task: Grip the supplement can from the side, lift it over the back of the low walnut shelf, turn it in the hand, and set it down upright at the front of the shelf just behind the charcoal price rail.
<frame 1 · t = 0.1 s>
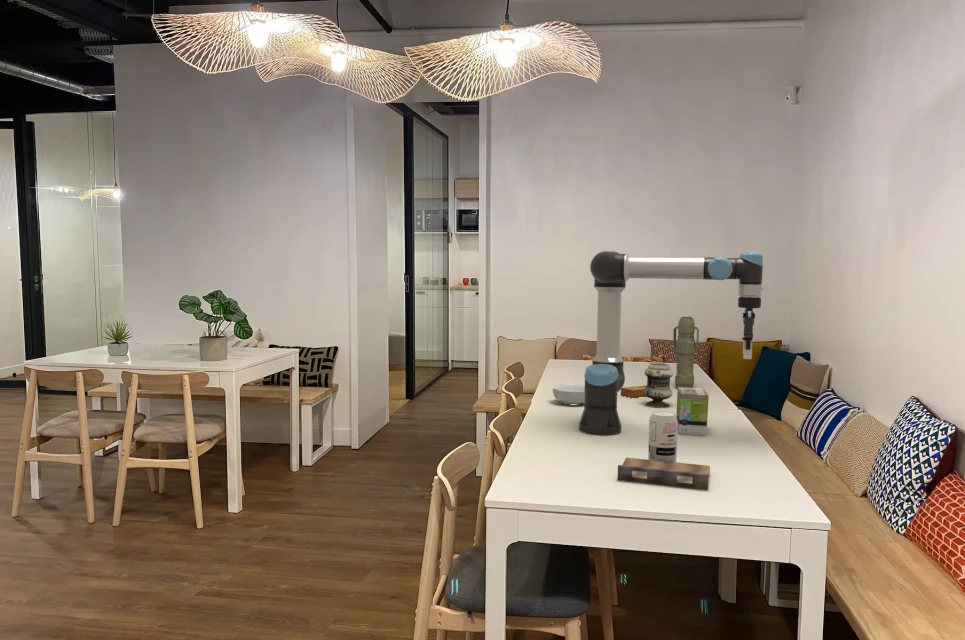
hand: (747, 356, 250), 28 cm above the table, tool pointing down, fingers open, 13 cm apart
tea box: (691, 430, 258), on the table
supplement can: (662, 462, 215), on the table
apothecary jar: (657, 405, 302), on the table
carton: (639, 396, 325), on the table
shelf: (664, 476, 201), on the table
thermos: (684, 389, 344), on the table
cereal bowl: (572, 404, 305), on the table
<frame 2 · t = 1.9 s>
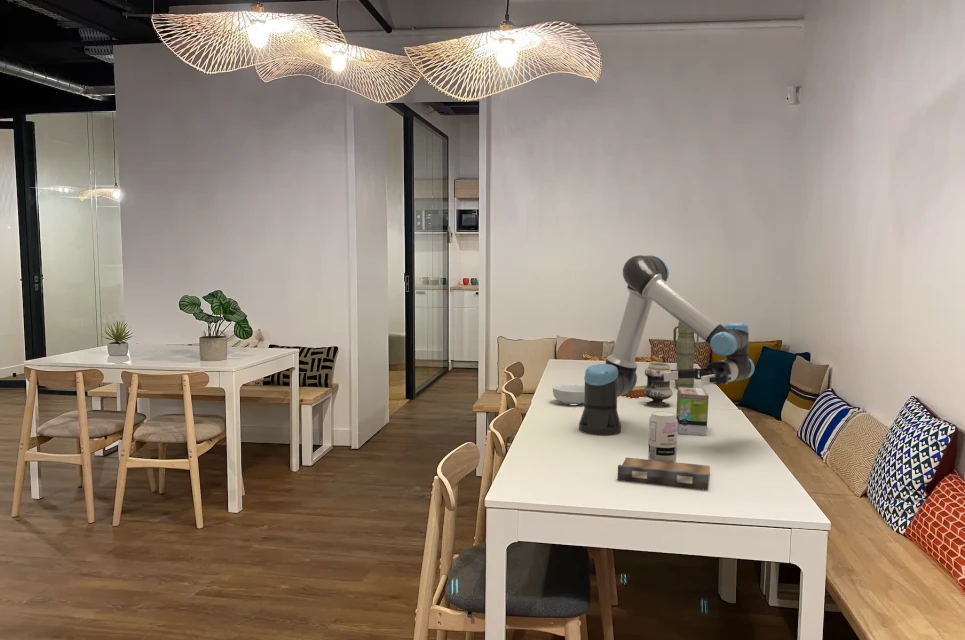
hand: (683, 379, 220), 24 cm above the table, tool horizontal, fingers open, 13 cm apart
nothing on the table moved.
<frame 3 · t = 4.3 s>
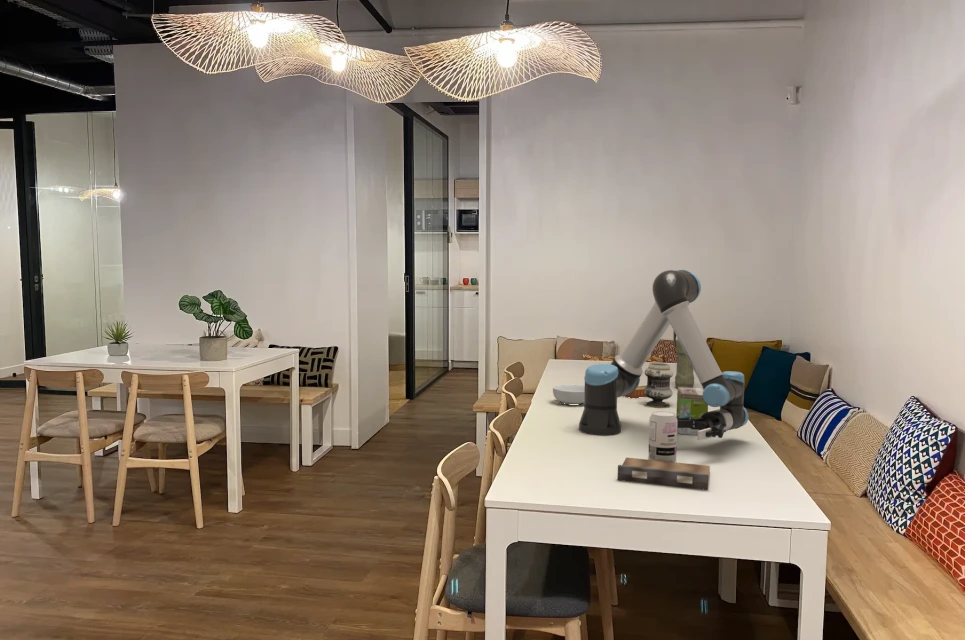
hand: (678, 431, 219), 8 cm above the table, tool horizontal, fingers open, 13 cm apart
nothing on the table moved.
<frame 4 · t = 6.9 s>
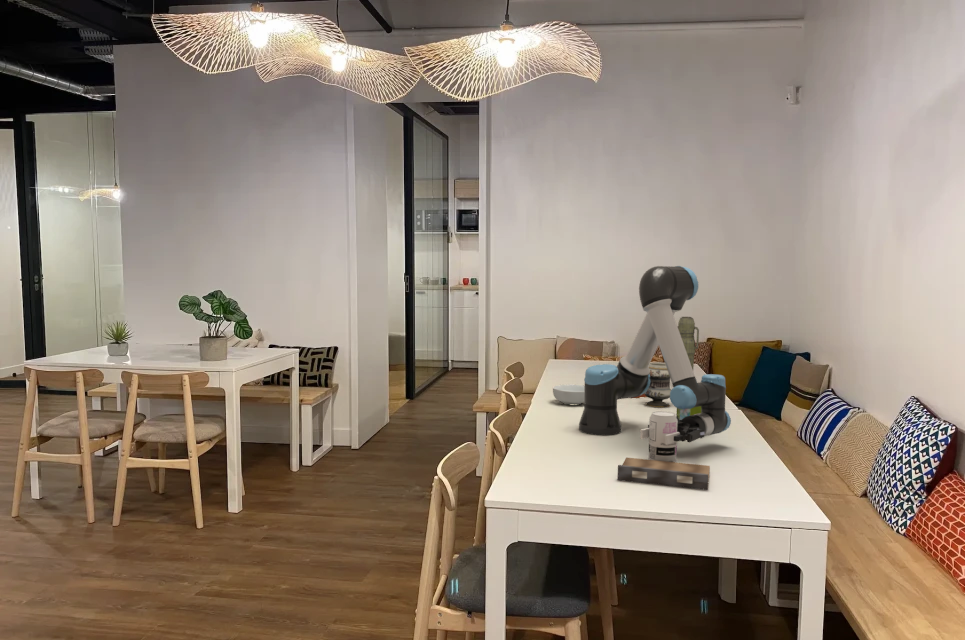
hand: (653, 437, 212), 9 cm above the table, tool horizontal, fingers closed on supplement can, 8 cm apart
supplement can: (662, 462, 215), on the table, touching gripper
everything else where it was.
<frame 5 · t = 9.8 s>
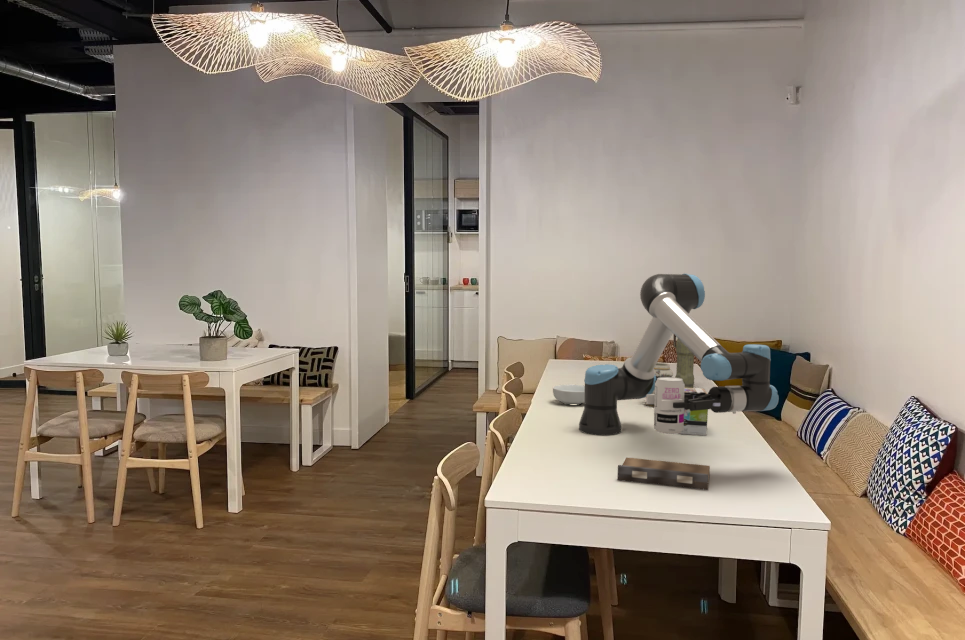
hand: (654, 402, 200), 21 cm above the table, tool horizontal, fingers closed on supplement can, 8 cm apart
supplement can: (668, 431, 202), point 12 cm above the table, touching gripper
everything else where it was.
when the fingers open (12 cm above the table, at t = 12.7 s): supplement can drops 1 cm, resting on shelf.
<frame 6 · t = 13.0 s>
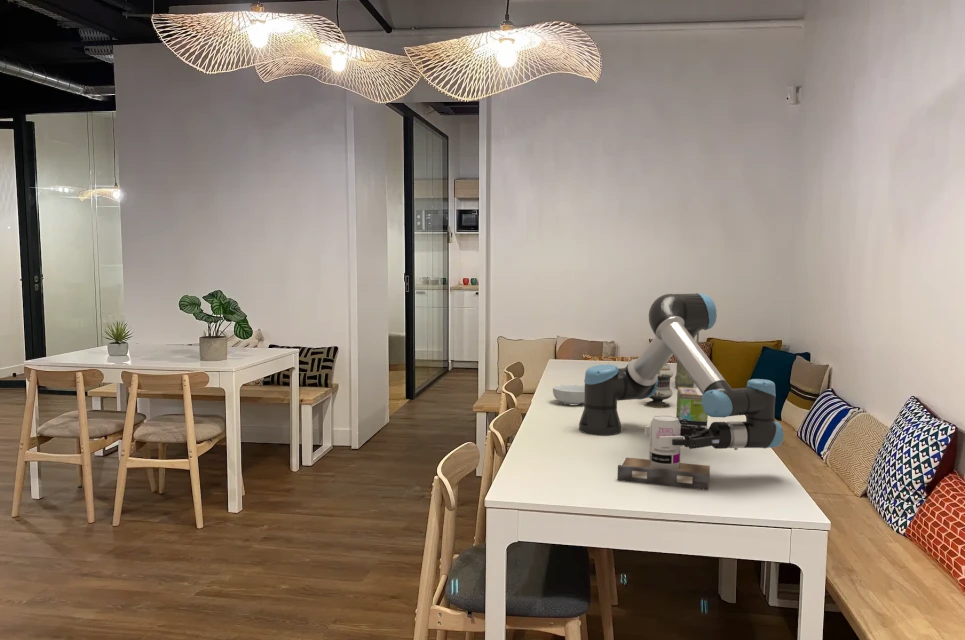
hand: (652, 436, 198), 12 cm above the table, tool horizontal, fingers open, 11 cm apart
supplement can: (664, 471, 200), point 2 cm above the table, touching shelf
everything else where it was.
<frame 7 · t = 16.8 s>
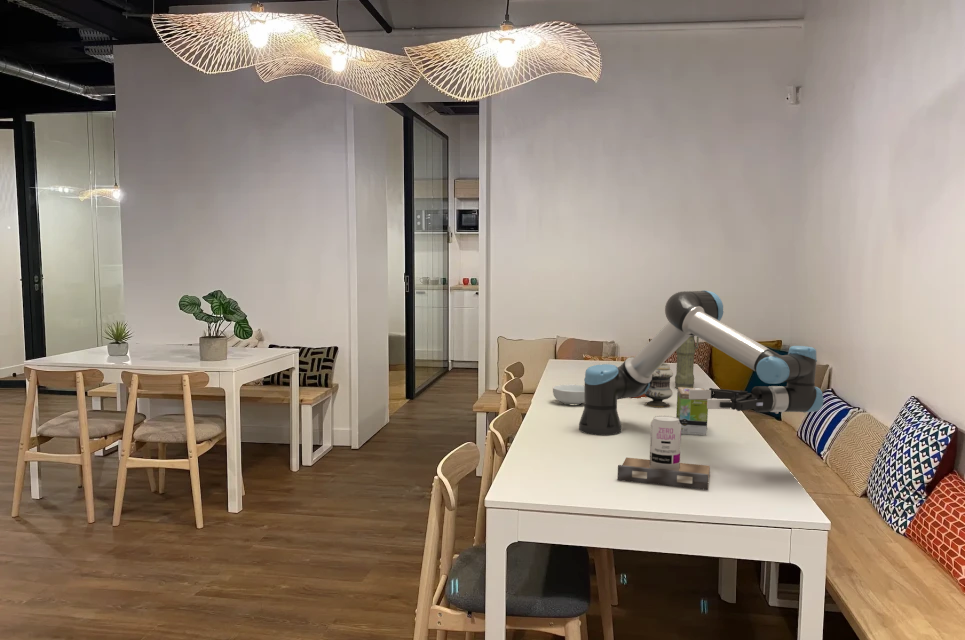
hand: (698, 398, 206), 21 cm above the table, tool horizontal, fingers open, 13 cm apart
nothing on the table moved.
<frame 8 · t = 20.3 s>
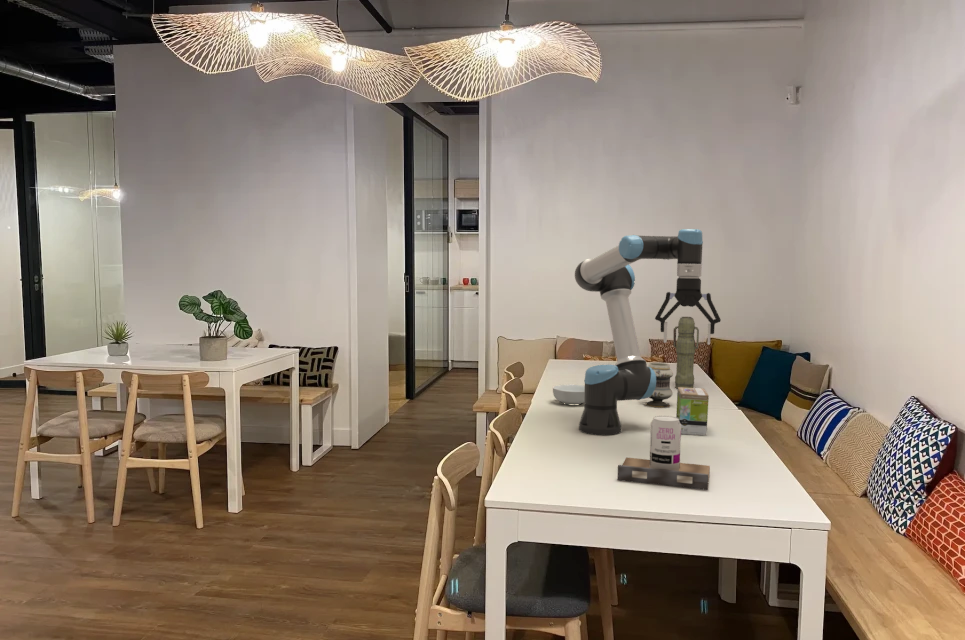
hand: (686, 343, 229), 35 cm above the table, tool pointing down, fingers open, 13 cm apart
nothing on the table moved.
at the end: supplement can inside the target area on the shelf (0.1 cm from its centre), point 1.8 cm above the shelf's base; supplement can tilted 0°; the gripper is holding nothing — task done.
